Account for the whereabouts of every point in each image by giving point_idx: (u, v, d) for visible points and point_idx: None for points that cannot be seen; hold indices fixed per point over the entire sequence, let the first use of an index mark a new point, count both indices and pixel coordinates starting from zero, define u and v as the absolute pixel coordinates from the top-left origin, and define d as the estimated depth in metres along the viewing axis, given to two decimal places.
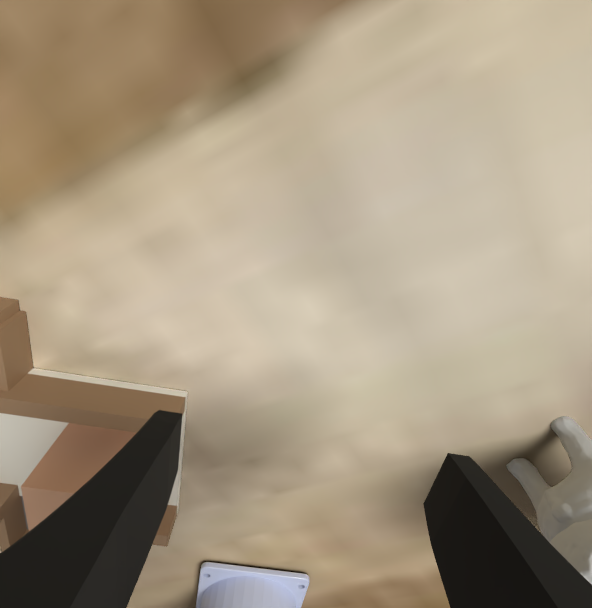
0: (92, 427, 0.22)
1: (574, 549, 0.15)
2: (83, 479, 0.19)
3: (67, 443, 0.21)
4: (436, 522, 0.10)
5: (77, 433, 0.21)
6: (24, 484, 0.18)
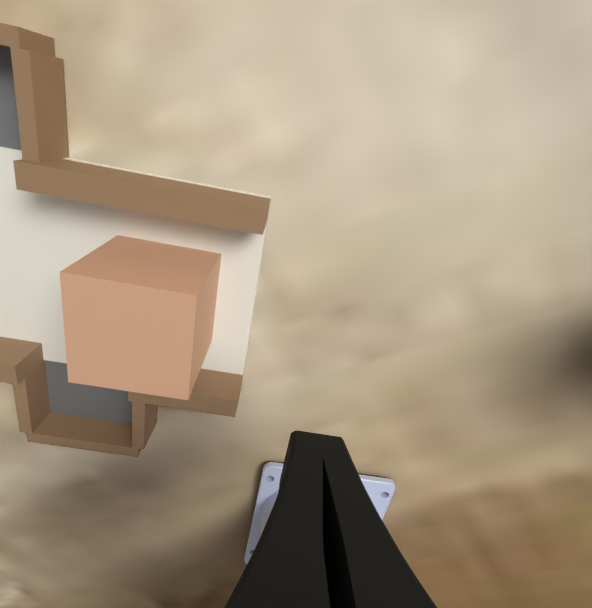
0: (145, 243, 0.17)
1: None
2: (143, 276, 0.14)
3: (115, 250, 0.15)
4: None
5: (127, 245, 0.16)
6: (64, 271, 0.13)
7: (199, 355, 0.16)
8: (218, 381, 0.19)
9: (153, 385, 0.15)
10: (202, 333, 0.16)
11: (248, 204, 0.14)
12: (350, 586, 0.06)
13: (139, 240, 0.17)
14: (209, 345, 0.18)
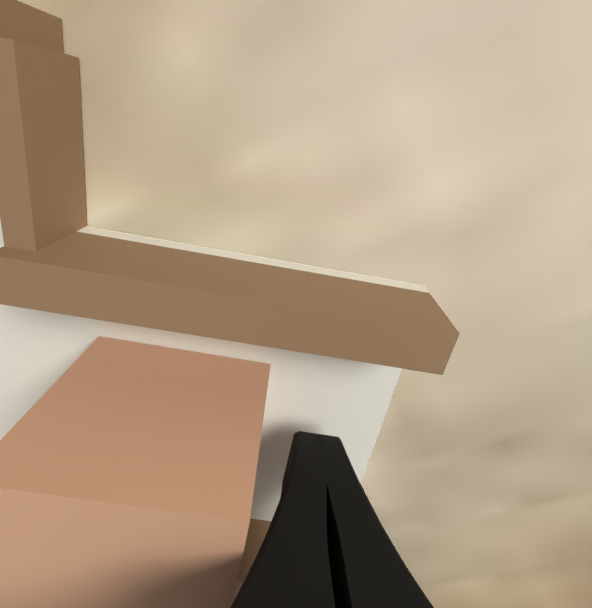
0: (144, 353, 0.10)
1: None
2: (138, 464, 0.07)
3: (91, 380, 0.09)
4: None
5: (113, 362, 0.09)
6: None
7: None
8: None
9: None
10: None
11: (422, 322, 0.08)
12: (346, 586, 0.06)
13: (134, 345, 0.10)
14: None
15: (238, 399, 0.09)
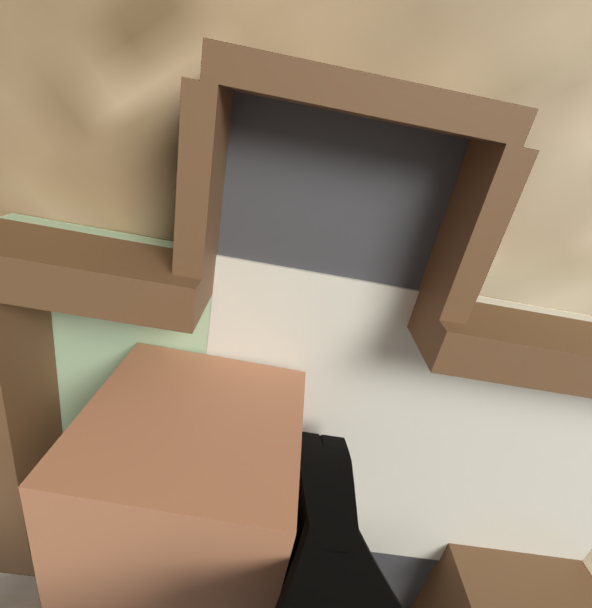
0: (183, 360, 0.10)
1: None
2: (185, 472, 0.07)
3: (134, 387, 0.09)
4: None
5: (153, 369, 0.09)
6: (30, 480, 0.06)
7: None
8: (567, 581, 0.13)
9: None
10: None
11: None
12: (313, 582, 0.06)
13: (171, 352, 0.10)
14: None
15: (276, 407, 0.09)
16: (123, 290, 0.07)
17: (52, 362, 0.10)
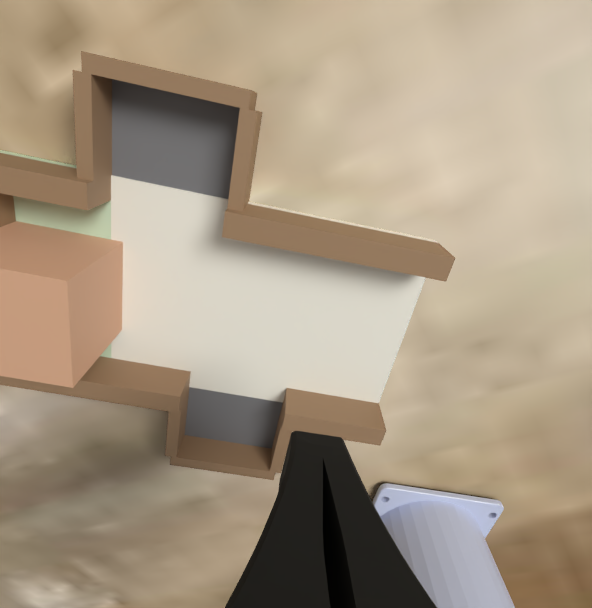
0: (42, 229, 0.16)
1: None
2: (18, 261, 0.14)
3: (4, 235, 0.15)
4: None
5: (20, 230, 0.16)
6: None
7: (91, 343, 0.16)
8: (360, 410, 0.20)
9: (36, 372, 0.15)
10: (93, 321, 0.16)
11: (436, 253, 0.15)
12: (350, 586, 0.06)
13: (37, 226, 0.17)
14: (116, 334, 0.18)
15: (90, 250, 0.16)
16: (48, 183, 0.14)
17: None
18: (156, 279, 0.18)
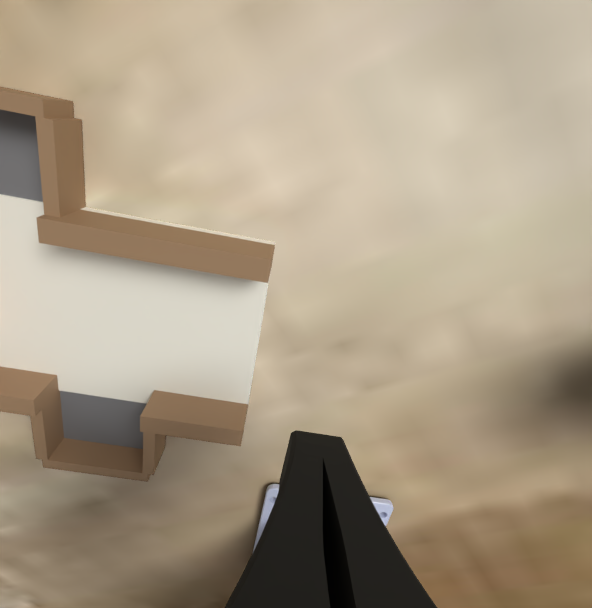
0: None
1: None
2: None
3: None
4: None
5: None
6: None
7: None
8: (225, 411, 0.20)
9: None
10: None
11: (255, 255, 0.15)
12: (350, 586, 0.06)
13: None
14: None
15: None
16: None
17: None
18: (5, 285, 0.18)
